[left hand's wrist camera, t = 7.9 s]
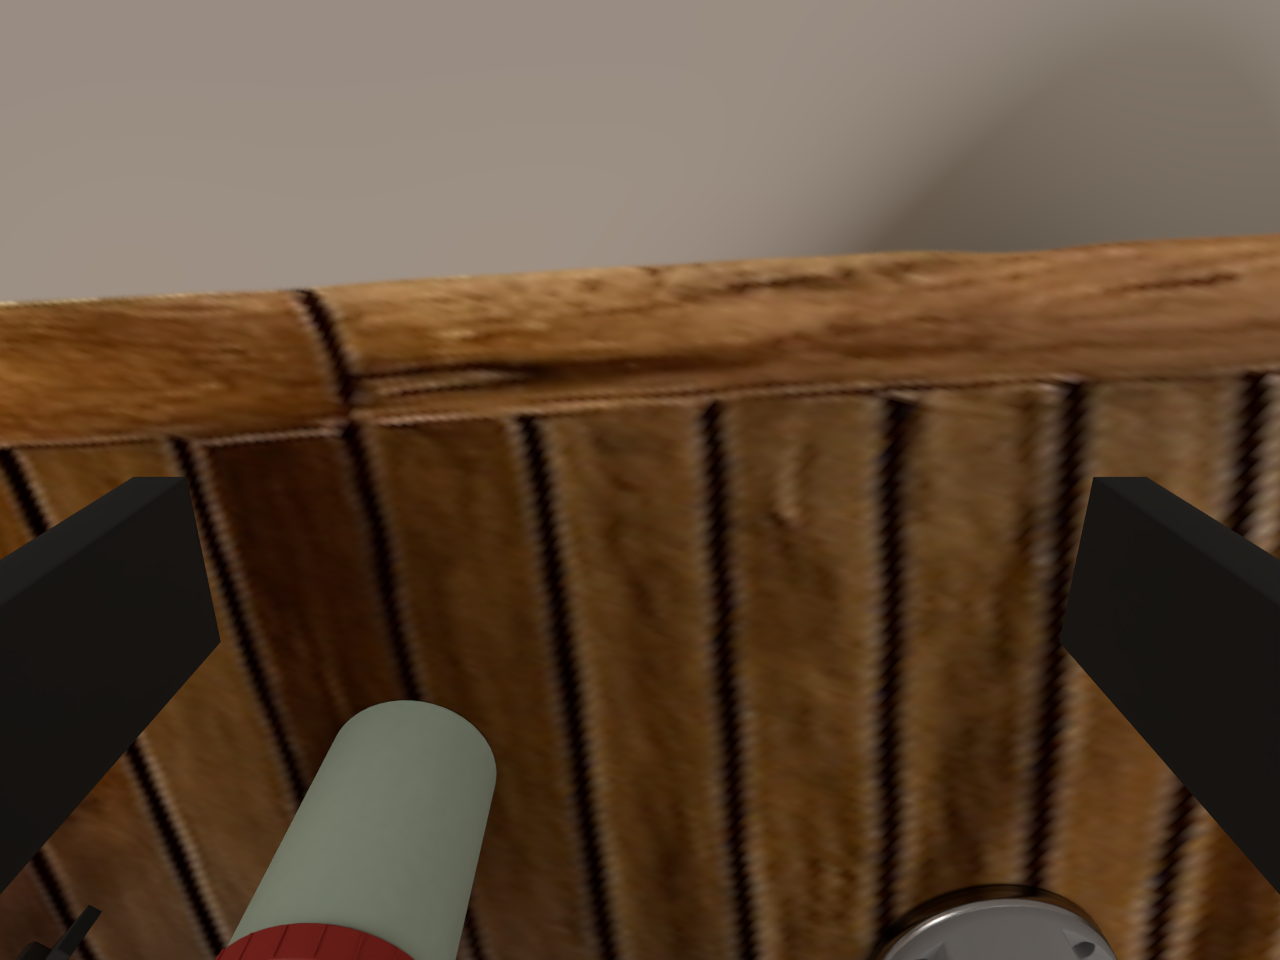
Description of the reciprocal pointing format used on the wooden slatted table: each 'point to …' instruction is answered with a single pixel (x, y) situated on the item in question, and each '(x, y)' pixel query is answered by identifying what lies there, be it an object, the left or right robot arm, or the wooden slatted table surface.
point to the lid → (311, 944)
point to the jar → (386, 832)
